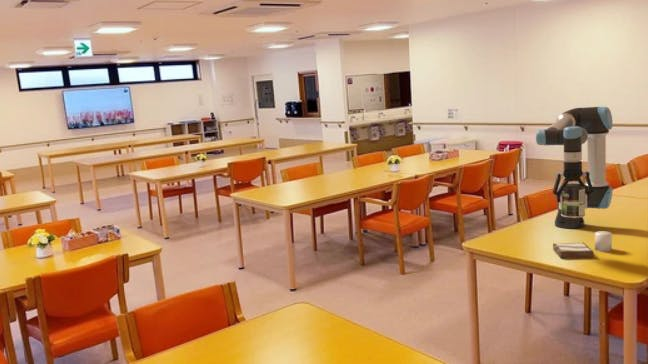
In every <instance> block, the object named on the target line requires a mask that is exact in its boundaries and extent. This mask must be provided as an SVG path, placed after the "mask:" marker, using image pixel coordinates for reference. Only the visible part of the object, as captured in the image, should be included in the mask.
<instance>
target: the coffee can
mask: <svg viewBox="0 0 648 364" xmlns="http://www.w3.org/2000/svg"><path fill="white" fill-rule="evenodd" d="M576 183H577V182H570V184H569V183H567V185H566V187H562V186H561V185H560V186H561V187H562V193H561V195H562V210H561V216H563V217H567V218H581V217H583V218H584V217H585V216H586V209H585V186H581V185H580V184H576Z"/></svg>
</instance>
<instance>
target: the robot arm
mask: <svg viewBox="0 0 648 364" xmlns="http://www.w3.org/2000/svg"><path fill="white" fill-rule="evenodd" d="M612 128H613V115H612V112H611V109H610V108H609V107H607V106H589V107H588V106H587V107H576V108H571V109H569V110H566V111H564V112H562V113H560V114H559V115H558V116H557V117H556V120H555V121H554V122H553V123H552V124H550V126H548V127H547V128H546V129H544V128H543V129H538V130H537V131H536V134H535V142H536V144H537V145H538V146H563V171H562V172H557V173H555V174H556V180H555V182H554V185H553V189H552V191H551V192H552V194H553V195H556V202H557V214H556V216H555V219H554V226H555V227H557V228H562V229H580V228H583V227H585V224H586V223H585V220H584V217H581V218H567V217H563V216H561V210H562V195H561V193H562V187H566V185H567V184H570V183H572V182H575V183H576V184H580V185H581V186H585V210H587V209H598V210H600V209H603V210H605V209H609V207H610V206H611V203H612V198H613V187H611V186H610V183H609V182H608V181H607V180H606V179H607V174H606V171H607V170H606V167H607V163H606V162H607V161H606V160H607V158H606V155H607V153H606V152H607V150H606V148H607V147H606V138H607V137H606V136H607V135H608V134H609V133H610V130H612ZM586 142H587V145H586V148H587V149H586V151H587V170H586V171H583V169H582V168H583V163H582V162H583V161H582V159H583V158H582V157H583V153H582V151H583V149H582V148H583V147H582V146H583V144H585V143H586ZM582 176H583V177H584V179H585V182H584V181H583V180H582V178H581V177H582ZM563 177H564V179H563V182H562V183H560V182H561V179H562V178H563ZM569 182H570V183H569ZM560 184H561V185H560ZM561 186H562V187H561Z"/></svg>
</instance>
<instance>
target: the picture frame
mask: <svg viewBox="0 0 648 364" xmlns="http://www.w3.org/2000/svg"><path fill="white" fill-rule="evenodd" d="M552 250H553V251H554V252H555V254H556V255H557V256H558V257H559V258H560V260H561V259H594V250H593V249H591V247H590V246H588V245H587V244H586V243H585V242H567V243H565V242H563V243H562V242H559V243H552Z"/></svg>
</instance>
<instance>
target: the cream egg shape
mask: <svg viewBox="0 0 648 364" xmlns="http://www.w3.org/2000/svg"><path fill="white" fill-rule="evenodd" d="M612 237H613V234H612V231H611V232H610V231H605V230H604V231H603V230H600V231H595V232H594V250H595V251H597V252H604V253H609V252H611V251H612V250H613V248H612V247H613V239H612Z"/></svg>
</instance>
